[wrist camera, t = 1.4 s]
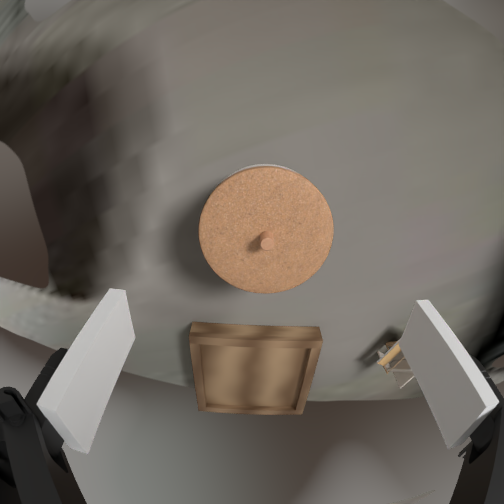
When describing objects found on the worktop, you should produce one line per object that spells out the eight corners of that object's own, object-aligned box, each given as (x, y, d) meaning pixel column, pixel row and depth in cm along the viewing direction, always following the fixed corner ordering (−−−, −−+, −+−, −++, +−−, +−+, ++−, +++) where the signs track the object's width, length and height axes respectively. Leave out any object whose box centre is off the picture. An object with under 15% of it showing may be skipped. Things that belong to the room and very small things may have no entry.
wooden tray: (319, 326, 36) (322, 341, 34) (300, 400, 43) (302, 414, 41) (192, 321, 36) (188, 335, 34) (200, 397, 43) (198, 410, 41)
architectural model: (369, 346, 39) (384, 384, 32) (401, 312, 36) (423, 347, 30) (383, 353, 40) (399, 389, 33) (415, 320, 37) (436, 355, 30)
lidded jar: (190, 197, 30) (164, 229, 21) (276, 134, 27) (286, 139, 18) (252, 272, 33) (251, 325, 25) (334, 220, 31) (362, 259, 22)
